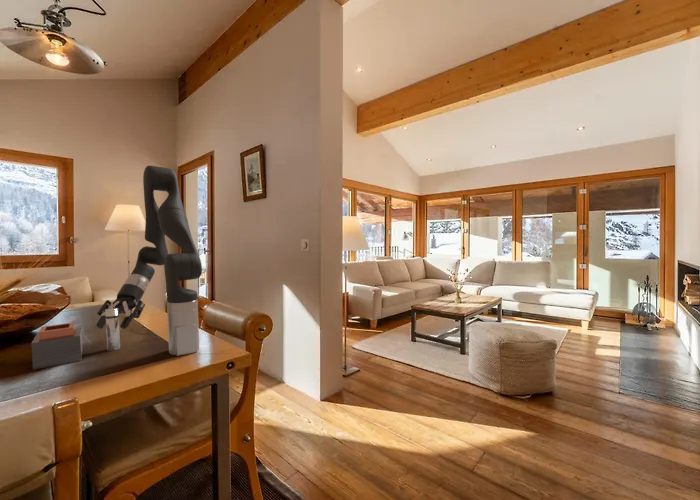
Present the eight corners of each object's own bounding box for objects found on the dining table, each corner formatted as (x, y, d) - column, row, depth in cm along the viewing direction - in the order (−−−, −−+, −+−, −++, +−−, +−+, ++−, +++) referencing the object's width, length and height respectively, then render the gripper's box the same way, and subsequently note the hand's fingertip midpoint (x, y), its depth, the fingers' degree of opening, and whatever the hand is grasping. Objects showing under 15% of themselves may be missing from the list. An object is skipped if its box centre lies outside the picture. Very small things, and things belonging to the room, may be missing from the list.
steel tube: (120, 349, 113) (118, 309, 112) (107, 351, 110) (105, 310, 110) (120, 346, 116) (118, 307, 115) (106, 348, 113) (104, 308, 112)
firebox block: (81, 360, 103) (79, 327, 102) (32, 369, 96) (30, 334, 95) (82, 350, 111) (80, 320, 111) (38, 358, 104) (36, 326, 104)
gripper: (110, 282, 120) (84, 322, 109) (146, 283, 119) (124, 322, 108) (121, 294, 126) (98, 332, 115) (156, 294, 125) (136, 333, 114)
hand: (110, 327), depth 112 cm, fingers open, 8 cm apart
